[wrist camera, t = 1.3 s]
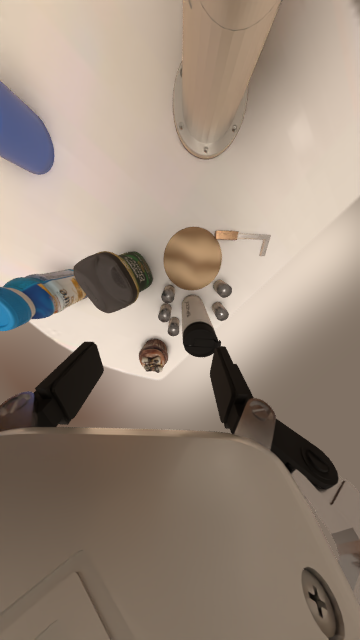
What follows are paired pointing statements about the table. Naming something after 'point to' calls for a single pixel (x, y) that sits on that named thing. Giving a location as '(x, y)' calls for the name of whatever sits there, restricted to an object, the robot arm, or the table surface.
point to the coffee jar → (113, 279)
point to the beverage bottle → (37, 297)
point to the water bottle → (23, 135)
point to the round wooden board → (192, 258)
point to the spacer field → (173, 327)
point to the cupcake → (153, 355)
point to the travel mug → (197, 328)
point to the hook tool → (234, 236)
